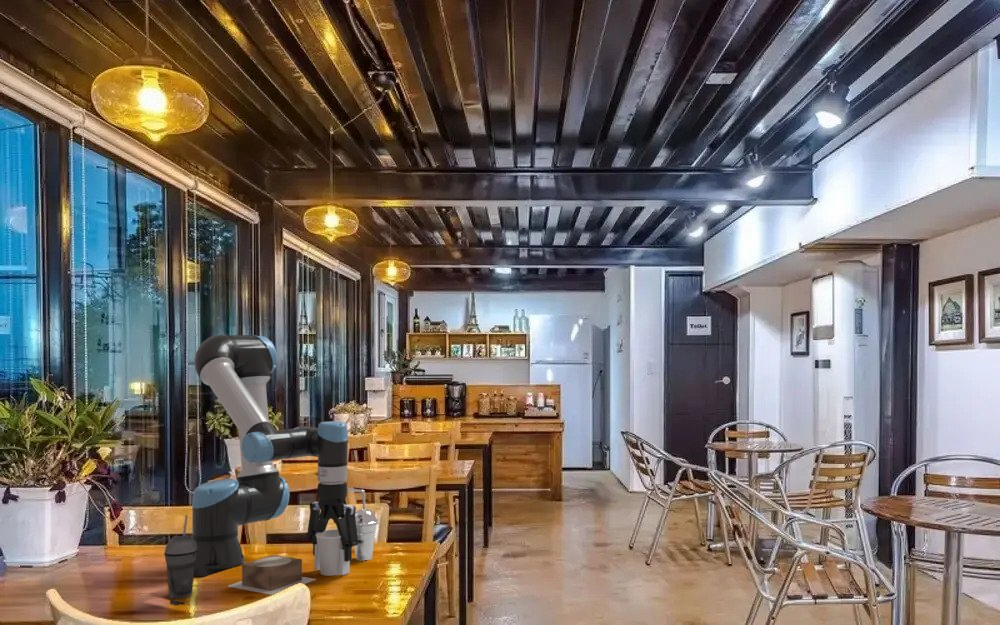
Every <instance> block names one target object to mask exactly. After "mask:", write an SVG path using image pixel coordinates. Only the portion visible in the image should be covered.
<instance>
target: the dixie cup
mask: <svg viewBox="0 0 1000 625" xmlns="http://www.w3.org/2000/svg"><path fill="white" fill-rule="evenodd" d="M316 537H317V546H318V555H319V564H320V569H319V571H320V575H322V576H326V577H331V576H339V575H340V549H341V548H342V547H343V545H342V542H341V539H340V538H341V536H339V532H338V529H337V528H333V529H326V530H325V531H324V532H322V533H319V532H318V533H316Z"/></svg>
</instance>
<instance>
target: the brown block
mask: <svg viewBox="0 0 1000 625" xmlns="http://www.w3.org/2000/svg"><path fill="white" fill-rule="evenodd" d="M241 573H242V574H241V579H242V580H241V581H242V586H248V587H253V588H258V589H264V590H269V591H273V590H275V589H278V588H281V587H284V586H286V585H289V584H292V583H295V582H297V581H300V580H302V577H303V559H302V558H296V557H290V556H282V555H275V554H272V555H269V556H265V557H262V558H259V559H256V560H252V561H249V562H245V563H244V564H242V565H241Z"/></svg>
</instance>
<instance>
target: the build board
mask: <svg viewBox="0 0 1000 625" xmlns="http://www.w3.org/2000/svg"><path fill="white" fill-rule="evenodd" d="M316 580H317V579H316V578H311V577H305V576H302V580H300V581H297V582H295V583H292V584H289V585H286V586H284V587H281V588H278V589H275V590H273V591H269V590H264V589H258V588H253V587H248V586H242V580H241V581H238V582H235V583H232V584H229V585H227V587H229V588H235V589H239V590H245V591H250V592H254V593H255V592H256V593H261V594H266V595H271V596H274V595H273V594H275V593H277V592H279V591H282V590H284V589H286V588H288V587H290V586H293V585H295V584H298V583H303V585H306V584H308V583H311V582H314V581H316Z"/></svg>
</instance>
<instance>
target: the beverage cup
mask: <svg viewBox="0 0 1000 625" xmlns="http://www.w3.org/2000/svg"><path fill="white" fill-rule="evenodd" d="M187 524H188V515H187V514H186V515H185V516H184V523H183V532H182V533H179V534H176V535H175V536H172V537H171V538H170V539H169V540H168V542H167V544H166V546H165V549H164V559H165V563H166V573H167V574H166V575H167V584H168V585H167V586H168V597H169V598H170V599H169V604H170V605H171V604H174V605H173V606H180V605H179V604H182V605H186V604H185V603H186V602H184V601H179V599H185V598H188V597H190V596H192V594H193V587H194V586H193V585H194V577H195V576H194V567H195V559H196V555H197V551H198V550H197V545H196V542H195V540H194V539H193V538H192V536H191V535H189V534H186V533H187V532H186V531H187ZM174 599H175V600H174Z"/></svg>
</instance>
